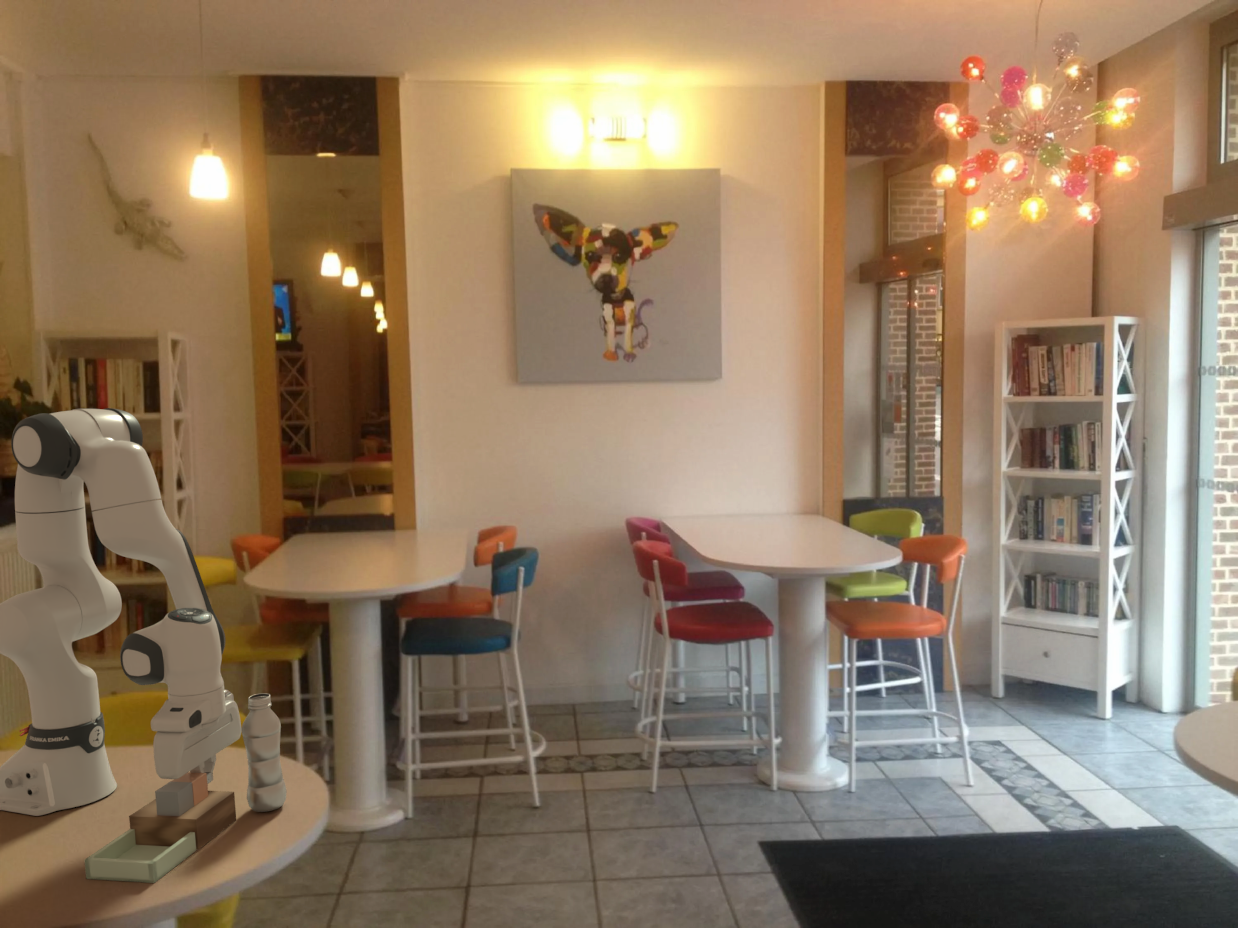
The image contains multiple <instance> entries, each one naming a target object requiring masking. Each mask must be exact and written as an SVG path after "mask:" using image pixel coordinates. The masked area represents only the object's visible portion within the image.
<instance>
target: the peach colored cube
mask: <svg viewBox="0 0 1238 928" xmlns="http://www.w3.org/2000/svg"><path fill="white" fill-rule="evenodd" d="M170 782H192V787H193V799H194V806H195V805H197V804H198V803H199V802H201V801H202V800H204V799H205V798H206V797H208V791H209V788H208V786H209V785H208V784H207V773H191V772H190V771H189V772H188V773H186V774H185V775H183V776H182V777H180V778H178V779H171V781H170Z"/></svg>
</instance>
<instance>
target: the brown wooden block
mask: <svg viewBox="0 0 1238 928" xmlns="http://www.w3.org/2000/svg"><path fill="white" fill-rule="evenodd" d="M236 809H237V808H236V799H235V791H223V790H208V797H206V798H205V799H204V800H202V801H201V802H199V803H198V804H197V805H195V806H193V807H192V808H191V809H189V810H188V811H186V812H185V813H183V814H182V815H181V816H162V815H157V807H156V798H155V799H153V800H151V801H150V802H149V803H147V804H146V805H144V806H143V807H141V808H139V809H138V810H136V811H134V812H132V814H130V815H129V816H128V819H129V827H130V828H129V829H135V840H136V845H150V846H168V847H171V846H172V845H173V844H175V843H176V842H178V841H179V840H180V839H182V838H183V837H184V836H186V835H187V834H188V833H190V832H195V841H196V851H198V850H200V849H202V847H204V846H205V845H206V844H208V843H209V842H210V841H212V840H213V839H214V838H216V837H217V836H218V835H220V833H222V832H224V830H226V829H227V828H229V827H230V826H231V825H232V824H234V823H235V822H236V821H237V812H236V811H237V810H236Z"/></svg>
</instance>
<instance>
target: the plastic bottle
mask: <svg viewBox="0 0 1238 928" xmlns="http://www.w3.org/2000/svg"><path fill="white" fill-rule="evenodd" d="M247 700H248V702H247V703H248V705H247V709H248V710H249V713H248V714H247V716H246V717H245V718H244V721H243V723H242V724H241V728H242V732H241V735H242V739H243V743H244V746H245V752H246V753H245V754H246V759H247V766H248V773H247V775H248V776H247V777H248V781H247V782H248V783H247V784H248V785H247V789H246V791H247V792H246V800H247V803H248V806H249V808H250V810H252V811H254V812H257V813H265V812H271V811H274V810H277V809H279V808H280V807H283V805H284V804H285V802H286V799H287V785H286V782H285V779H284V776H283V770H282V765H281V748H280V747H281V746H280V745H281V732H282V731H281V728H282V726H281V720H280V718H279V717H278V716H277V714H276V713H275V712H274V711H273V710H272V709H271V706H272V702H271V700H272V699H271V694H270V693H266V692H265V693H263V692H262V693H256V694H252V695H250V696H249V697H248V698H247Z"/></svg>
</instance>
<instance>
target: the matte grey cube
mask: <svg viewBox="0 0 1238 928" xmlns="http://www.w3.org/2000/svg"><path fill="white" fill-rule="evenodd" d="M154 793H155V799H156V807H157V815H162V816H181V815H182V814H183V813H185V812H186V811H188V810H189V809H191V808H192V807H193V806H194V799H193V787H192V782H171V781H169V782H167V783H166V784H164V785H162V786H161V787H160V788H158V789H157V790H155V792H154Z"/></svg>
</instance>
